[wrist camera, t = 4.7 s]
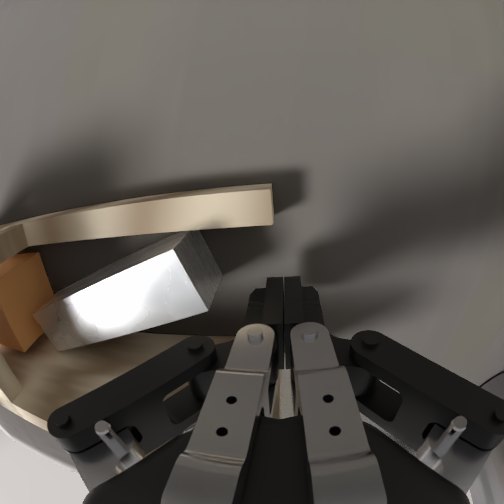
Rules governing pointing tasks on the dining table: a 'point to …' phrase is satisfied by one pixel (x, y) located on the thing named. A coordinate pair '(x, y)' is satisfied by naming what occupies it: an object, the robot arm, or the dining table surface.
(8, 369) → the bridge channel
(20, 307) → the block
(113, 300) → the grey long rectangular bar
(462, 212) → the dining table surface
